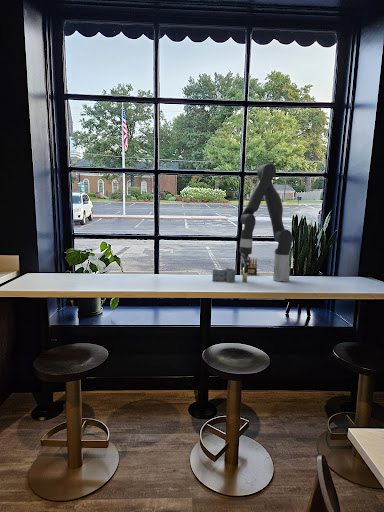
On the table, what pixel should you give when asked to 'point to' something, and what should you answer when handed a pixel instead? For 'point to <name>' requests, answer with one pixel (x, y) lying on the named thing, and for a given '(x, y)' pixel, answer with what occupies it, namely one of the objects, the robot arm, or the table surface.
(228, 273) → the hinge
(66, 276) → the table surface
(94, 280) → the table surface
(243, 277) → the hinge pin
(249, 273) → the ammunition clip
